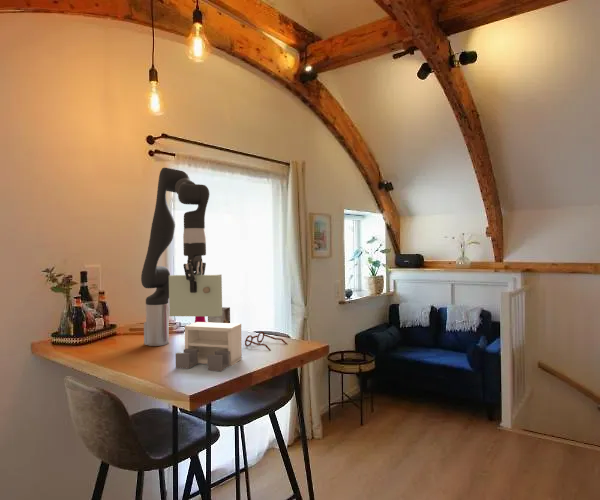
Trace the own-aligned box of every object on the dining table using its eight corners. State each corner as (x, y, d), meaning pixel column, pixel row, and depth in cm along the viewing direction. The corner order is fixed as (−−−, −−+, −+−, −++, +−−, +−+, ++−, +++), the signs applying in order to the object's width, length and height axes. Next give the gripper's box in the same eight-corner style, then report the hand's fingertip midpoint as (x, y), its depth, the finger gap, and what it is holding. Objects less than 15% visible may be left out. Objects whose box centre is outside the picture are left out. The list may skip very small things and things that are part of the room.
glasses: (262, 342, 188) (262, 330, 188) (287, 345, 181) (287, 333, 181) (244, 348, 177) (244, 336, 177) (270, 351, 170) (270, 339, 170)
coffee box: (216, 344, 181) (216, 306, 181) (230, 345, 180) (230, 307, 180) (207, 349, 172) (207, 310, 172) (222, 350, 171) (222, 310, 171)
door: (167, 316, 146) (166, 275, 146) (173, 314, 151) (172, 275, 151) (217, 317, 143) (216, 275, 143) (222, 315, 148) (221, 274, 148)
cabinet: (174, 367, 147) (174, 329, 147) (197, 356, 162) (197, 321, 162) (222, 371, 142) (222, 332, 142) (241, 359, 158) (241, 323, 158)
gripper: (193, 242, 155) (193, 290, 155) (175, 241, 141) (176, 294, 141) (212, 242, 154) (213, 290, 154) (196, 241, 140) (197, 294, 140)
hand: (195, 291), depth 148 cm, fingers closed on door, 3 cm apart
